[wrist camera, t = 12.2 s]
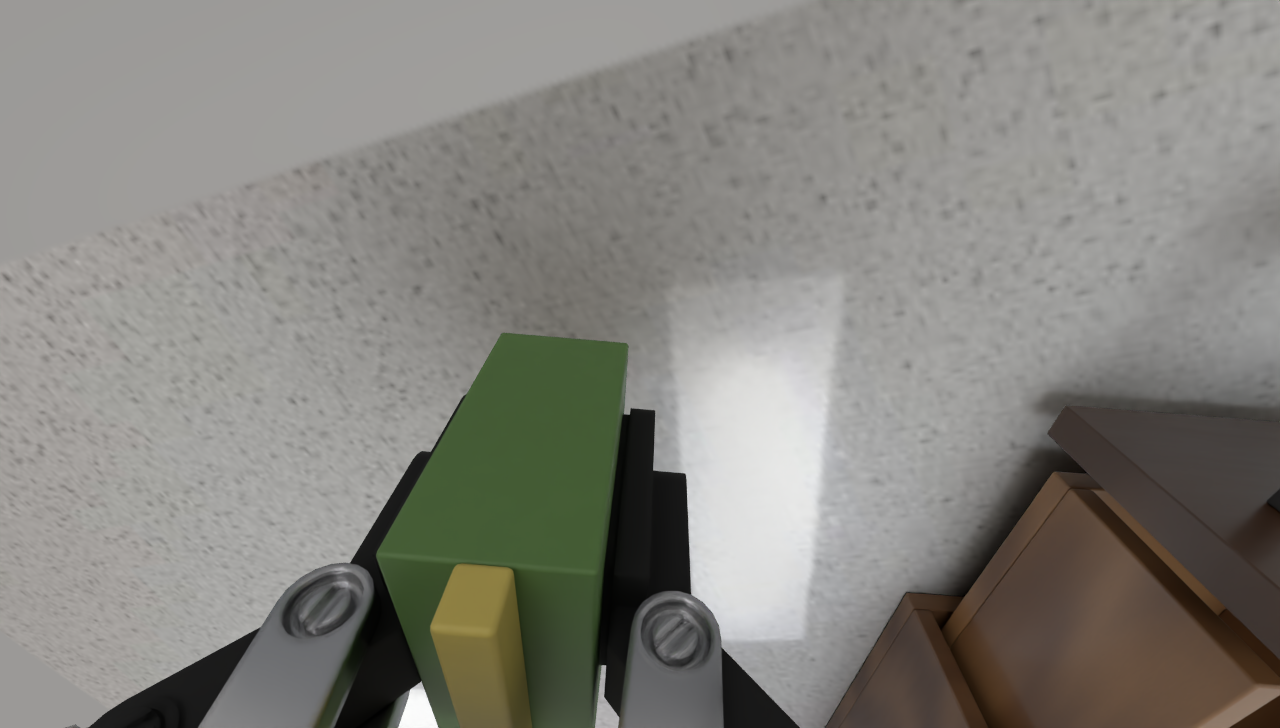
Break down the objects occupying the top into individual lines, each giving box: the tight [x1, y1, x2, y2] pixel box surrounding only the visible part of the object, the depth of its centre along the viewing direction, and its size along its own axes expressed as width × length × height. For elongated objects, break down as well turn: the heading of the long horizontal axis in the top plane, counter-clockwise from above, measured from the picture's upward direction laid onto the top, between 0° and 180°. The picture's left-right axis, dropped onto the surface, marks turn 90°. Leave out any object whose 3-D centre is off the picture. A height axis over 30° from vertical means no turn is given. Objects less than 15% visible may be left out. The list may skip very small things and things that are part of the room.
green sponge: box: [376, 333, 629, 728], centre depth 9 cm, size 3×6×6 cm, turn 176°
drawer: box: [941, 405, 1280, 728], centre depth 15 cm, size 22×11×7 cm, turn 176°
